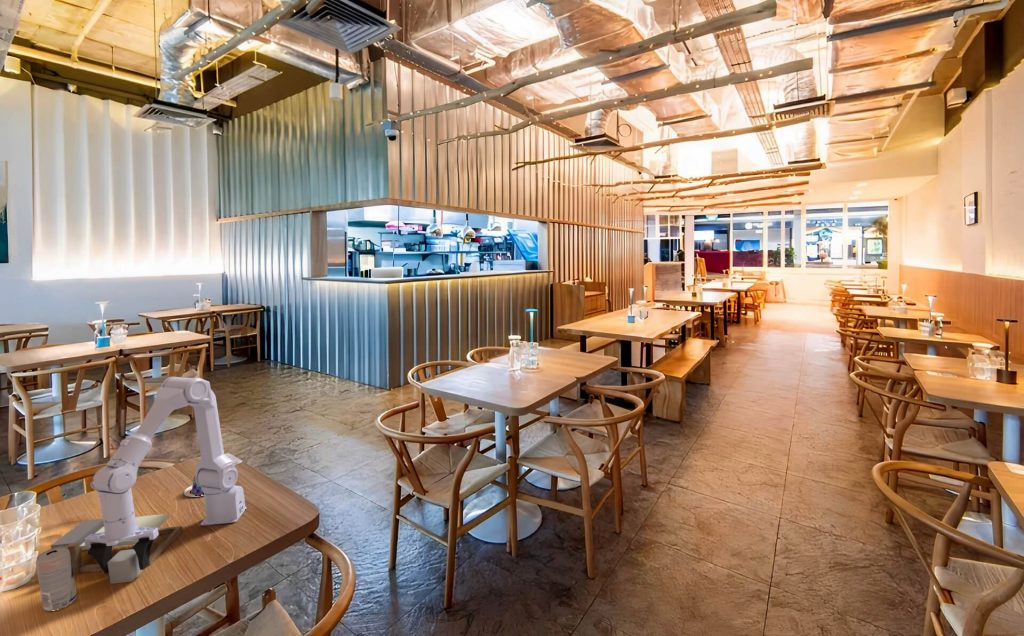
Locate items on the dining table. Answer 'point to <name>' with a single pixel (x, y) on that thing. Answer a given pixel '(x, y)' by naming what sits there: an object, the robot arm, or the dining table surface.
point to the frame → (79, 568)
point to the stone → (124, 567)
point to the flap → (98, 526)
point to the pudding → (193, 490)
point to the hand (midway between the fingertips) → (126, 569)
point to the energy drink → (56, 578)
